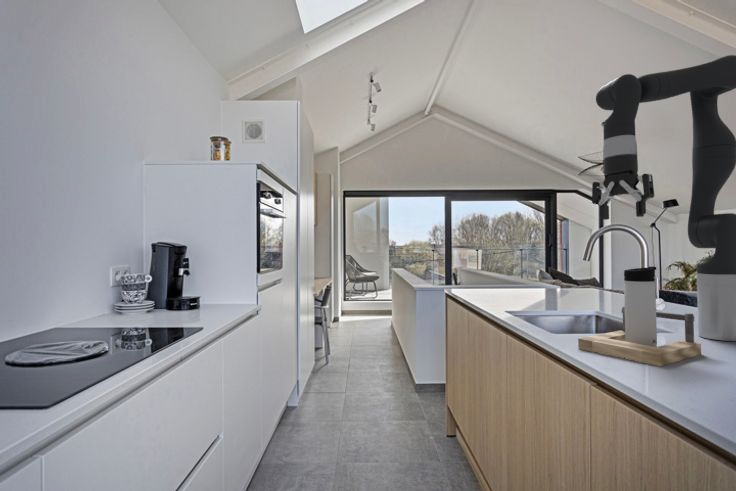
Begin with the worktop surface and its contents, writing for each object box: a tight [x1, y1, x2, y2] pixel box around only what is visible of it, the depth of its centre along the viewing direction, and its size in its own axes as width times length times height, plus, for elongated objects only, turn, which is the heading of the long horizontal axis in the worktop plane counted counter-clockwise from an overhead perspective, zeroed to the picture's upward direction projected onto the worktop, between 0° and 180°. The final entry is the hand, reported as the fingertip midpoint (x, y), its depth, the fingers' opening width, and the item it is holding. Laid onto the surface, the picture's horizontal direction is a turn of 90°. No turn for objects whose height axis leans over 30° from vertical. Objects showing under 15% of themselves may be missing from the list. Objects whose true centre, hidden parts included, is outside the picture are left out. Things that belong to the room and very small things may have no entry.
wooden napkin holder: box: [577, 306, 702, 367], centre depth 96 cm, size 18×18×9 cm
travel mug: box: [623, 266, 658, 347], centre depth 97 cm, size 6×7×20 cm
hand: (622, 218), depth 105 cm, fingers open, 8 cm apart
